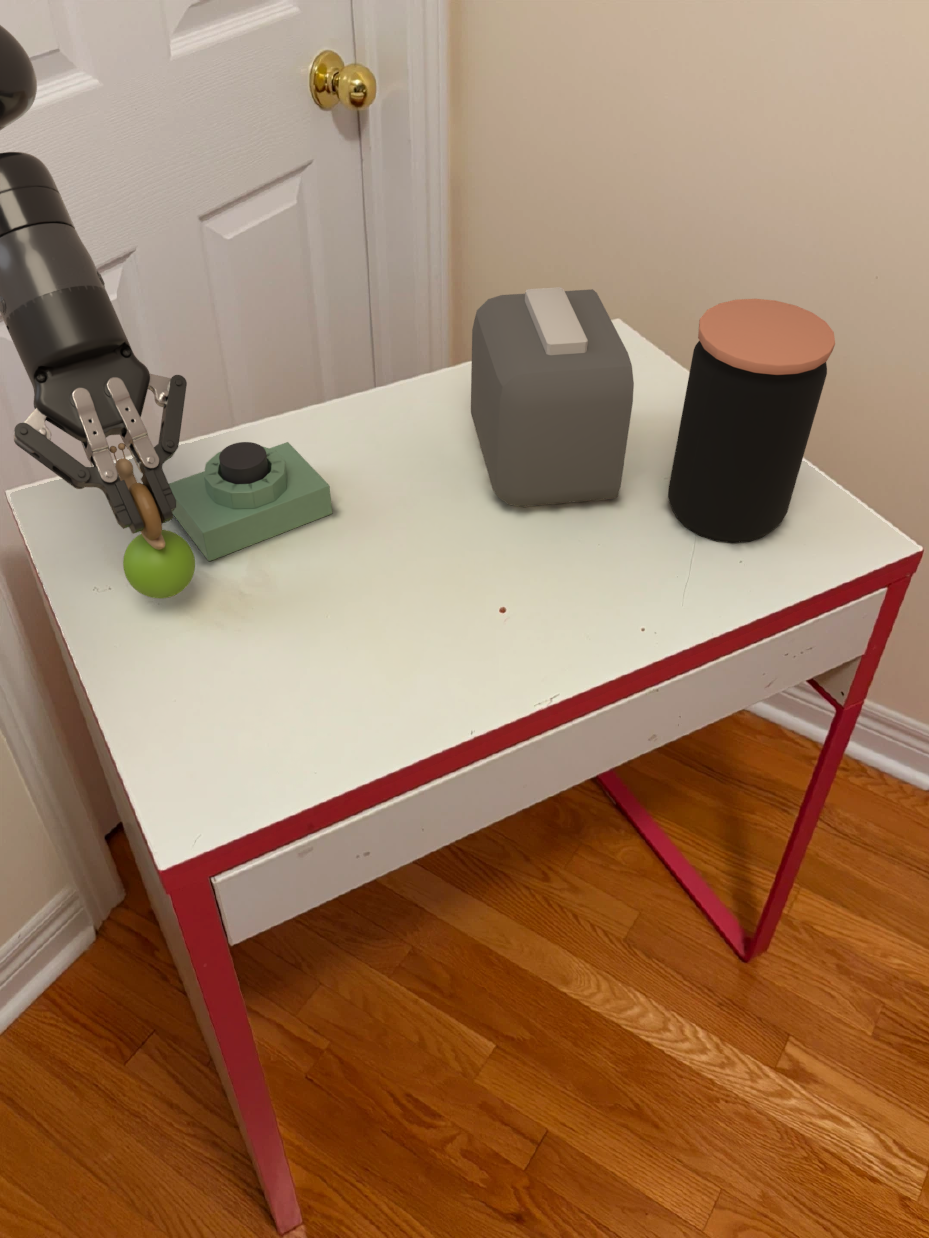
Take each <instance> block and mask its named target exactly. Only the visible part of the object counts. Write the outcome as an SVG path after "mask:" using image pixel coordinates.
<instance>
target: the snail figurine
mask: <svg viewBox="0 0 929 1238" xmlns="http://www.w3.org/2000/svg"><path fill="white" fill-rule="evenodd" d="M125 449H126V446H125V444H124V442H119V444H118V445H117V446H115V445H111V446H109V451H110V454H113V456H114V461H115V463H114V464H115V467H116V470H117V472H118V475H119V478H120V480H121V481H122V480H125V483H126V485H127V487H128V489H129V492H130V494H131V496H132V498H133V501H134V503H135V505H136V508H137V510H138V512H139V514H140V517H141V519H142V521H143V524H144V529H143V530H142V531H140V532H139V533H140V534H138V535H137V536H135V537H134V538H133V539H132V540H131V541H130V542H129V543H128V545H127V547H126V549H125V551H124V554H123V558H122V559H123V560H122V567H123V573H124V575H125V578H126V580H127V582H128V583H129V584H130V586H131V587H132V588H133V589H134V590H135V591H137V592H138V593H140V594H141V595H143V596H146V597H148V598H152V599H168V598H171V597H174V596H176V595H178V594H180V593H181V592H182V591H184V590H185V589H186V588H187V587H188V586H189V584H190V583H191V581H192V579H193V577H194V574H195V570H196V560H195V559H196V558H195V554H194V552H193V550H192V548H191V546H190V544H189V543H188V542H187V540H185V538H184V537H182V535H179V534H178V533H176V532H174V531H171V530H168V529H164V528H163V523H161V518H160V515H159V511H158V509H157V506H156V503H155V501H154V499H153V497H152V495H151V493H150V491H149V489H148V488H147V487H146V486H145V485H144V484H143V483H142V482H138V480H137V478H136V476H135V473H134V466H133V464H132V462H131V460H129V459H127V458H126V456H125V451H124V450H125ZM118 450H119V451H121V452H122V456H123V457H121V458H118V459H117V456H116V453H117V451H118Z"/></svg>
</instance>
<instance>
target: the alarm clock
mask: <svg viewBox="0 0 929 1238" xmlns="http://www.w3.org/2000/svg"><path fill="white" fill-rule="evenodd" d="M608 313H609V312H607V309H606V308H605V306H604V304H603V302H602V300H601V298H600V296H599V294H598V292H597V291H595V290H594V289H593V288H592V289H591V288H590V289H578V290H577V289H576V290H574V289H573V290H565V289H564V288H563V287H561V286H559V287H558V286H557V287H542V288H527V289H526V290H525V293H513V294H510V293H509V294H500V295H497V296H494V297H491V298H488V299H487V300H485V301H484V303H482V304H481V306H480V307H479V308H477V309H476V312H475V315H474V320H473V324H472V329H471V372H470V373H471V374H470V375H471V377H470V384H471V385H470V415H471V418H472V422H473V425H474V429H475V433H476V436H477V440H478V442H479V446H480V449H481V454H482V457H483V460H484V464H485V468H486V471H487V475H488V478H489V481H490V485H491V488H492V491H493V492H494V494H495V495H496V496H497V497H498V498H499V499H500V500H502V501H503V502H505V503H506V504H507V505H508V506H515V507H523V508H525V507H535V506H548V505H557V504H558V505H559V504H569V503H579V502H580V503H582V502H593V501H603V500H613V499H616V498H618V497H619V494H620V491H621V487H622V480H623V473H624V467H625V466H624V465H625V459H626V453H627V445H628V438H629V430H630V424H631V417H632V411H633V410H632V409H633V404H634V387H635V383H634V372H633V365H632V362H631V359H630V356H629V352H628V350H627V348H626V346H625V344H624V342H623V340H622V338H621V336H620V334H619V333H618V330H617V329H616V328H615V327H616V326H615V325H614V323H613V321H612V320H611V317H610V315H609V314H608Z"/></svg>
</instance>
